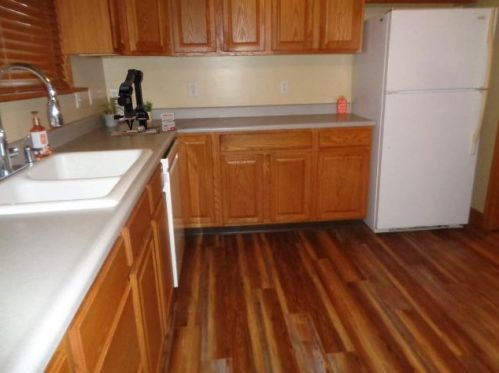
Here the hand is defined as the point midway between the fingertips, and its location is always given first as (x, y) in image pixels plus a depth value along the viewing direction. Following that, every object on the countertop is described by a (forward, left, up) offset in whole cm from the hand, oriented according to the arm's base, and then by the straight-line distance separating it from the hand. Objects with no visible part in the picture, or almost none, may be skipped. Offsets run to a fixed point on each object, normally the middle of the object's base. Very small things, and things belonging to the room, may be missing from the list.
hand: (131, 130), depth 243 cm
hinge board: (0, +3, -3) cm, 4 cm away
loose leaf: (0, +3, -2) cm, 3 cm away
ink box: (-8, +24, -3) cm, 25 cm away
